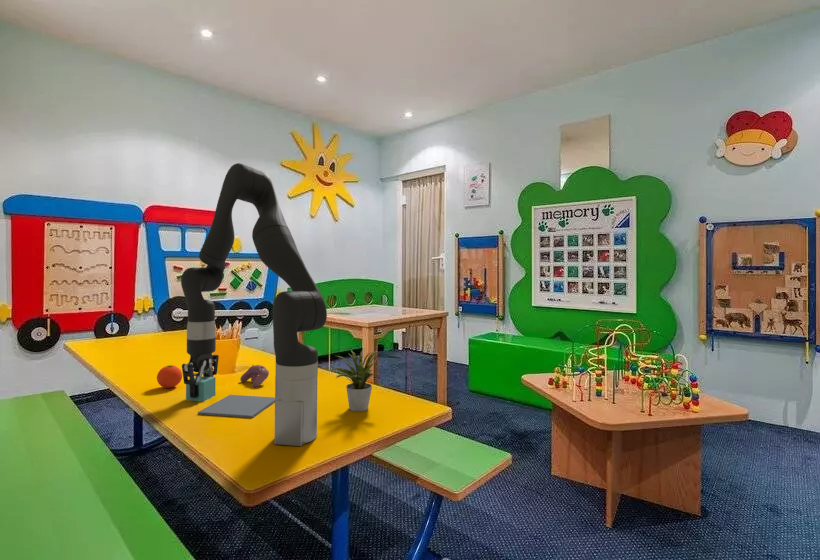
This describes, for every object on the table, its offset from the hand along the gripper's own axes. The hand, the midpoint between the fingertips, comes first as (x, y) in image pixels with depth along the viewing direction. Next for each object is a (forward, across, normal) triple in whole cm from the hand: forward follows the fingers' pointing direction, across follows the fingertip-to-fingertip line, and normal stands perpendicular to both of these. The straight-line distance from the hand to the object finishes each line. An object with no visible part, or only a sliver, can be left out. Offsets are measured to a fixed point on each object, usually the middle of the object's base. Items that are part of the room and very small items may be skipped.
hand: (201, 394), depth 121 cm
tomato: (+1, +8, +16) cm, 18 cm away
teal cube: (+1, 0, 0) cm, 1 cm away
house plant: (+1, +1, -47) cm, 47 cm away
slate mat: (+1, -5, -15) cm, 16 cm away
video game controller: (+1, +17, -8) cm, 19 cm away
